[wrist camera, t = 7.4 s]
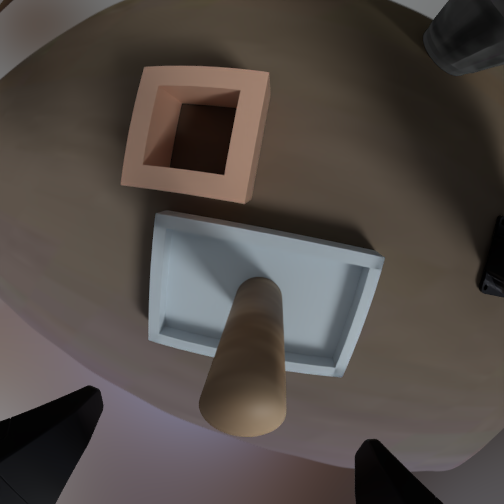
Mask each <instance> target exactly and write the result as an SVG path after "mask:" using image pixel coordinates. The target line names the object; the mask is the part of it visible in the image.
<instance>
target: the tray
mask: <svg viewBox="0 0 504 504" xmlns="http://www.w3.org/2000/svg"><path fill="white" fill-rule="evenodd" d="M384 259H385V257H383V256H382V255H381V254H379V253H378V252H377V251H375V250H370V249H366V248H361V247H357V246H352V245H347V244H343V243H338V242H333V241H329V240H324V239H319V238H314V237H309V236H304V235H299V234H294V233H289V232H284V231H279V230H274V229H269V228H264V227H258V226H253V225H248V224H242V223H237V222H232V221H226V220H221V219H215V218H209V217H204V216H198V215H192V214H187V213H181V212H175V211H169V210H165V211H162V212H158V213H156V214H155V223H154V233H153V244H152V256H151V271H150V291H149V340H150V341H153V342H156V343H160V344H163V345H167V346H171V347H174V348H178V349H182V350H186V351H190V352H194V353H198V354H202V355H206V356H210V357H214V356H215V353H216V350H217V347H218V345H219V342H220V339H221V336H222V333H223V330H224V327H225V324H226V321H227V319H228V316H229V313H230V310H231V307H232V304H233V301H234V298H235V296H236V293H237V290H238V288H239V286H240V285H241V284H242V283H243V282H244V281H246V280H247V279H250V278H253V277H264V278H268V279H270V280H272V281H273V282H274V283H276V284H277V286H278V287H279V289H280V291H281V293H282V303H283V324H284V349H285V371H291V372H299V373H306V374H315V375H323V376H333V377H342V376H343V374H344V372H345V370H346V367H347V365H348V363H349V360H350V358H351V355H352V353H353V350H354V348H355V345H356V343H357V340H358V338H359V335H360V333H361V330H362V327H363V324H364V322H365V319H366V316H367V313H368V310H369V308H370V305H371V302H372V299H373V296H374V293H375V289H376V286H377V283H378V280H379V276H380V273H381V270H382V266H383V263H384Z"/></svg>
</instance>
